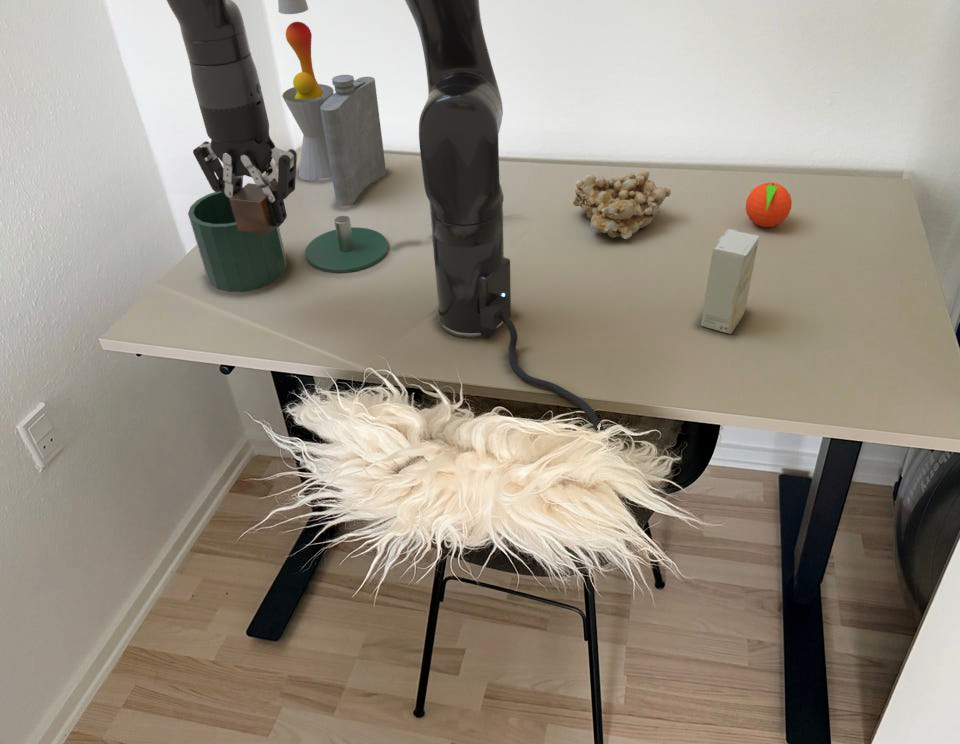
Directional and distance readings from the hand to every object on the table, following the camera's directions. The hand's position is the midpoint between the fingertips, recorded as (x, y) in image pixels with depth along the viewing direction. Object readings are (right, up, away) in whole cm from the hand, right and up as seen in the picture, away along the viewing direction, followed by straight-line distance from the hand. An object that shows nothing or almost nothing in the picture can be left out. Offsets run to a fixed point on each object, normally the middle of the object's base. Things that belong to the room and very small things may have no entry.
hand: (261, 221), depth 106 cm
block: (0, 0, 0) cm, 0 cm away
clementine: (+75, +3, +23) cm, 78 cm away
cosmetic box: (+62, -13, +4) cm, 64 cm away
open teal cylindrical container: (-7, -5, +18) cm, 19 cm away
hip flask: (+7, +13, +39) cm, 42 cm away
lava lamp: (-1, +18, +45) cm, 48 cm away
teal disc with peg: (+8, -1, +21) cm, 22 cm away
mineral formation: (+53, +4, +25) cm, 59 cm away
